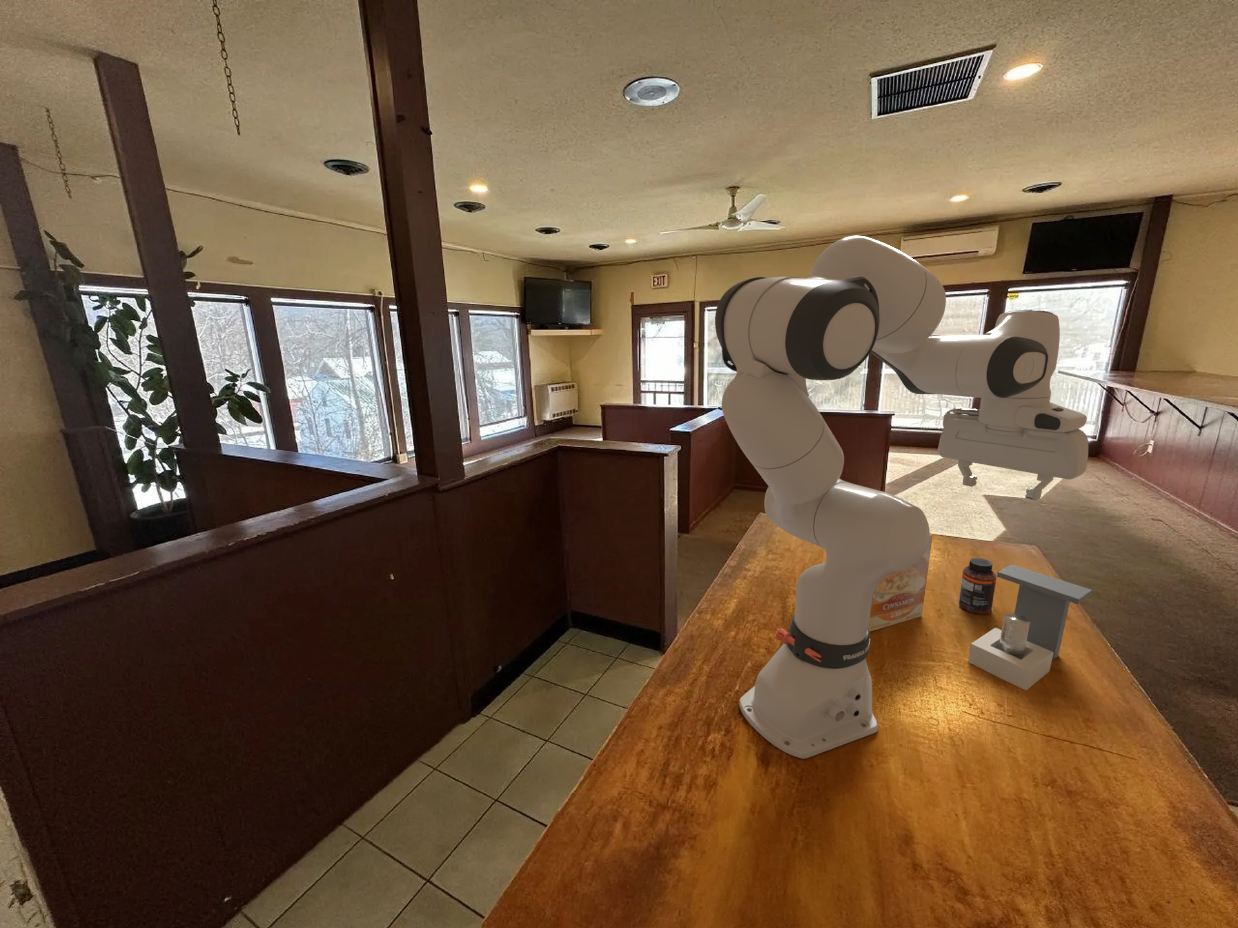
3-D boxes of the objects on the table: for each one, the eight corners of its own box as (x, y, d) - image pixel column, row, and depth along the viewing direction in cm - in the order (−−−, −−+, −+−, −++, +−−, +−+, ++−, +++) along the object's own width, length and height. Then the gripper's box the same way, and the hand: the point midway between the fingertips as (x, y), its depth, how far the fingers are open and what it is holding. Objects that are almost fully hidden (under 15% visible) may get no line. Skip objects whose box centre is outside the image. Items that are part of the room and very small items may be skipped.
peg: (1015, 675, 87) (1024, 626, 84) (992, 664, 90) (1000, 617, 87) (1024, 668, 88) (1034, 620, 86) (1001, 657, 91) (1010, 610, 89)
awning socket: (1036, 695, 82) (1053, 617, 78) (959, 657, 92) (970, 586, 88) (1075, 662, 89) (1092, 589, 85) (999, 630, 99) (1011, 564, 95)
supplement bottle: (980, 600, 110) (987, 555, 107) (997, 615, 104) (1005, 567, 101) (952, 600, 111) (959, 555, 108) (967, 615, 105) (975, 567, 102)
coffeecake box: (869, 632, 101) (877, 546, 96) (843, 615, 107) (850, 533, 102) (924, 617, 105) (934, 534, 100) (896, 600, 112) (905, 522, 107)
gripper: (935, 408, 87) (926, 481, 91) (1083, 422, 70) (1065, 512, 74) (954, 404, 90) (945, 475, 94) (1101, 417, 73) (1082, 503, 77)
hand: (999, 491), depth 84 cm, fingers open, 8 cm apart
